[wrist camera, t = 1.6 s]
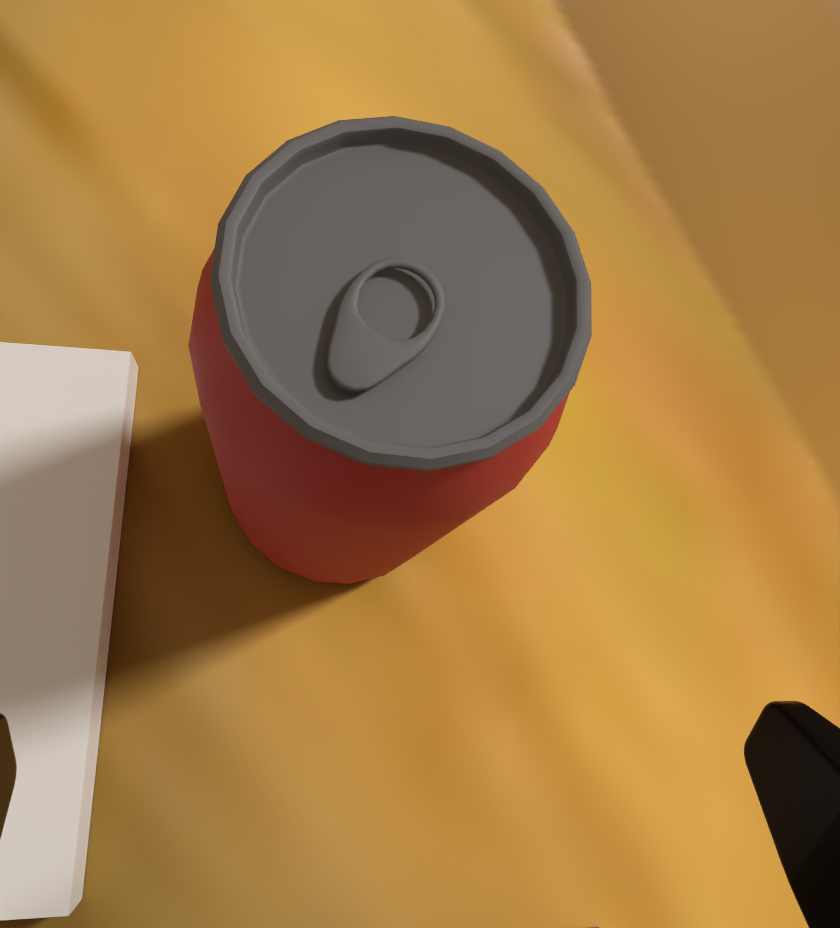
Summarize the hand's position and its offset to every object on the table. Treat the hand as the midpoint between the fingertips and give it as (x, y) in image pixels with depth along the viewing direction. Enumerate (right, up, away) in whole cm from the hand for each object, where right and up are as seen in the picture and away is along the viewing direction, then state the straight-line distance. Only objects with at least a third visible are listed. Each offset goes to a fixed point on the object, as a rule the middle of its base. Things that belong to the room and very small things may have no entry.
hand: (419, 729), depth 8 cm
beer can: (-3, +3, +13) cm, 14 cm away
